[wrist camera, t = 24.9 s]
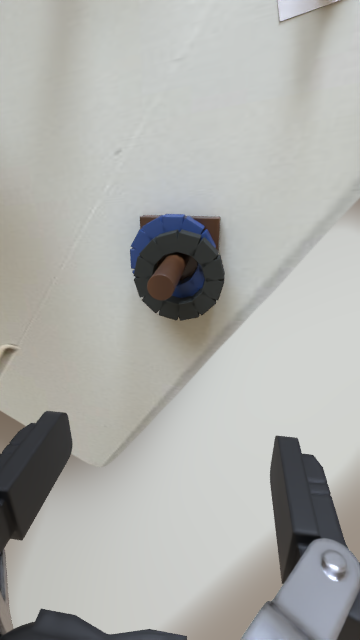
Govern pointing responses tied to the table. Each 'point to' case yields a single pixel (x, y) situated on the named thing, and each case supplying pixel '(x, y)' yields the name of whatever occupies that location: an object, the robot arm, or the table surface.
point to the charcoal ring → (189, 246)
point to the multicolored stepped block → (299, 7)
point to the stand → (177, 260)
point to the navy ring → (166, 225)
